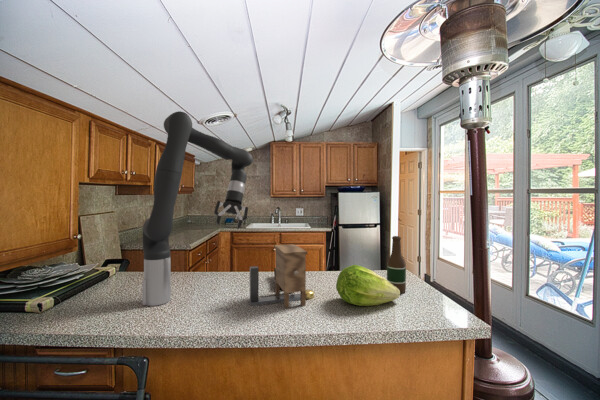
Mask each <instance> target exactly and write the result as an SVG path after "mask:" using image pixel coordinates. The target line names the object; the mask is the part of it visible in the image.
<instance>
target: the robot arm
mask: <svg viewBox="0 0 600 400" xmlns="http://www.w3.org/2000/svg"><path fill="white" fill-rule="evenodd" d="M163 129H164V131H165V132H166V133H167V139H166V144H165V146H164V148H163V151H162V153H161V156H160V158H159V161H158V163H157V165H156V169H155V174H154V180H153V181H154V182H153V205H152V209H151V213H150V216H149V218H148V219H146V220H145V221H144V223H143V226H142V253H143V279H142V284H141V285H142V286H141V288H142V290H141V291H142V296H141V297H142V306H148V307H152V306H153V307H154V306H161V305H164V304H168V303H169V302H170V301H171V292H172V291H171V285H172V284H171V281H172V280H171V279H172V278H171V270H172V269H171V268H172V267H171V265H172V264H171V248H170V244H169V243H170V242H169V240H170V239H169V237H170V236H171V234H172V233H173V232H172V231H173V225H174V224H173V223H174V212H175V204H176V201H177V198H178V194H179V189H180V186H181V180H182V175H183V167H184V163H185V157H186V150H187V145H188V143H189V144H190V143H191V144H192V145H195V146H197V147H200V148H202V149H204V150H206V151H208V152H210V153H211V154H213V155H216V156H217V157H219V158H222V159H223V160H226V161H229V160H231V176H230V178H229V179H230V180H229V183H228V185H227V190H226V193H225V194H226V195H225V198H224V199H225V200H224V201H223V202H222V201H220V200H217V201H216V204H215V208H214V211H213V215H215V216H216V217H217V218H216V222H215V223H216V224H217V226H220V224H221V223H220V222H221V218H222V216H223V215H225V213H227V214H229V215H234V216H235V215H236V217H237V219H238V221H237V227H236V229H237V230H239V229H241V227H242V223H243V222H244V221H246V220H247V219H248V212H249V206H243V205H242V204H243V199H244V194H245V189H246V182H247V178H248V177H247V173H246V172H245V168H247V167H250V166H251V165H252V163H253V162H254V157H253V156H252V154H251V153H250V152H249V151H247V150H245V149H243V148H240V147H236V146H232V145H231V144H229V143H228V142H225V140H222V139H220V138H217V137H215V136H212V135H209V134H207V133H203V132H201V131H199V130H197V129H196V128H194V127H193V121H192V118H191V117H190V115H189V114H188V113H186V112H184V111H175V112H172V113H171V114H169V115H168V116H167V117H166V118H165V119H164V121H163ZM221 207H223V209H222V210H221V211H220V212H218V211H219V209H220V208H221ZM241 210H242V212H243V216H242V214H241V213H240V211H241Z"/></svg>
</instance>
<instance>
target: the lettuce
mask: <svg viewBox="0 0 600 400" xmlns="http://www.w3.org/2000/svg"><path fill="white" fill-rule="evenodd" d="M335 287H336V288H335V290H336V291H337V294H338V296H340V298H341V301H344V302H347V303H348V304H351V305H356V306H360V307H368V306H369V307H371V306H372V307H373V306H378V305H382V304H385V303H389V302H392V301H395V300H398V299H399V297H400V295H401V294H400V291H399V289H398V288H397V287H395V286H394V285H392V284H391V283H390V282H389V281H387V278H385V277H384V276H382V275H379V274H378V273H376V272H374V271H373V270H371V269H369V268H366V267H364V266H361V265H357V264H352V265H349V266H346V267H344V268H343V269H342V270H341V271H340V273H339V274H338V277H337V280H336V286H335Z"/></svg>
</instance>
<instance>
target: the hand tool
mask: <svg viewBox="0 0 600 400" xmlns="http://www.w3.org/2000/svg"><path fill="white" fill-rule="evenodd" d="M273 276H274V278H273V279H274V281H275V282H276V267H274V268H273ZM280 292H284V291H283V290H282V288H281V287H280Z"/></svg>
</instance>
